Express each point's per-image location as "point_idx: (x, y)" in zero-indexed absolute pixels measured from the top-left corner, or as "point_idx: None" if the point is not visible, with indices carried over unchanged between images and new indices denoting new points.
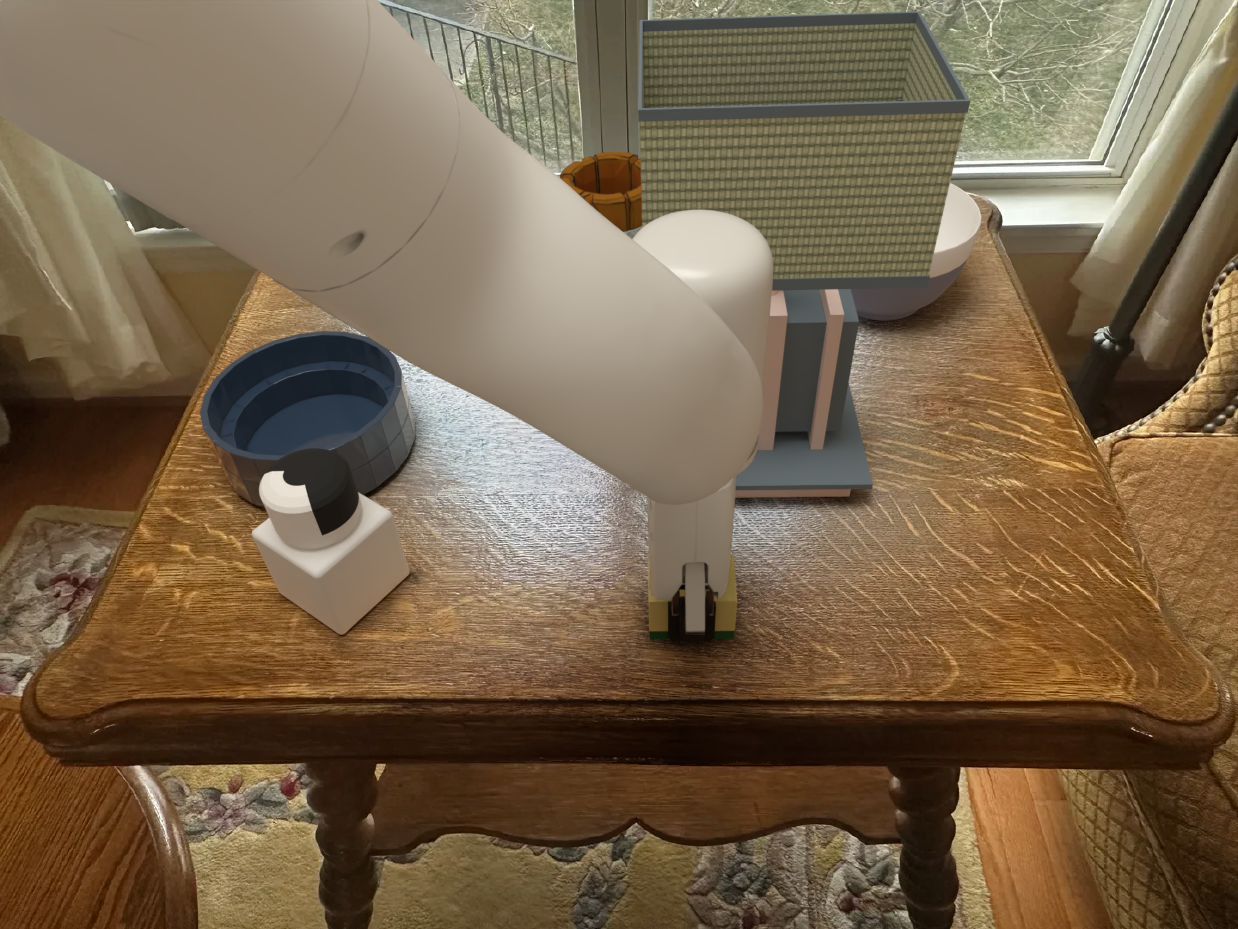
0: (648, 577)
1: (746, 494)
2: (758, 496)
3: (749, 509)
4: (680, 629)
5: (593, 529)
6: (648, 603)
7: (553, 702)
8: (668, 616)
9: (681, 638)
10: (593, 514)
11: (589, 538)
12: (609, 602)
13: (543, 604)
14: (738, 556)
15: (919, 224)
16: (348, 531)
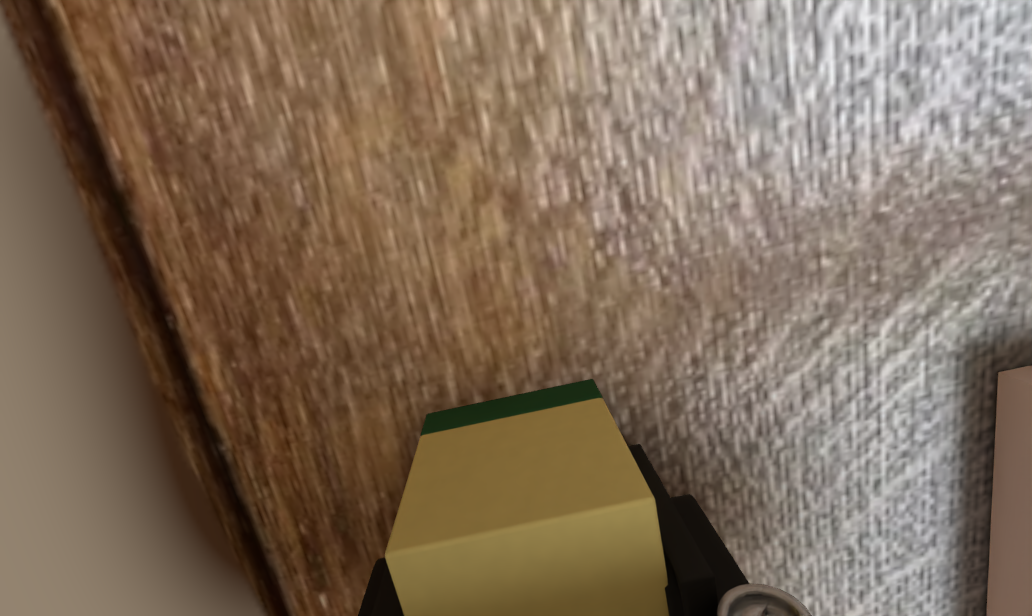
0: (523, 527)
1: (1002, 580)
2: (991, 603)
3: (940, 582)
4: (361, 611)
5: (857, 124)
6: (391, 541)
7: (102, 177)
8: (377, 595)
9: (374, 571)
10: (932, 105)
11: (813, 120)
12: (539, 263)
13: (483, 20)
14: (764, 583)
15: None
16: None
